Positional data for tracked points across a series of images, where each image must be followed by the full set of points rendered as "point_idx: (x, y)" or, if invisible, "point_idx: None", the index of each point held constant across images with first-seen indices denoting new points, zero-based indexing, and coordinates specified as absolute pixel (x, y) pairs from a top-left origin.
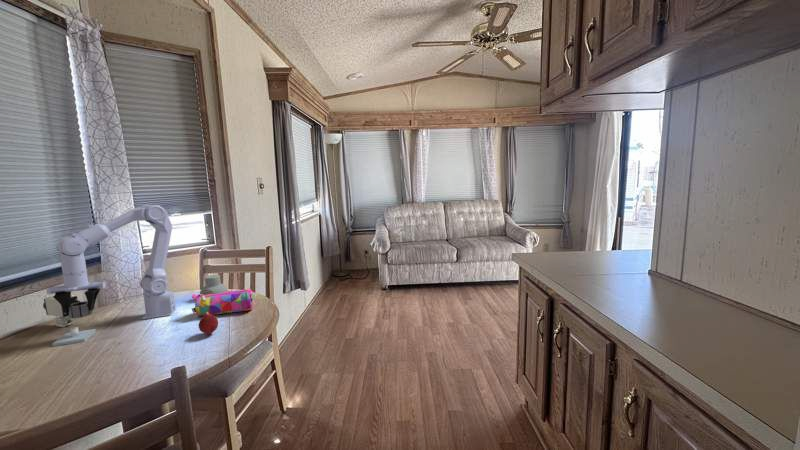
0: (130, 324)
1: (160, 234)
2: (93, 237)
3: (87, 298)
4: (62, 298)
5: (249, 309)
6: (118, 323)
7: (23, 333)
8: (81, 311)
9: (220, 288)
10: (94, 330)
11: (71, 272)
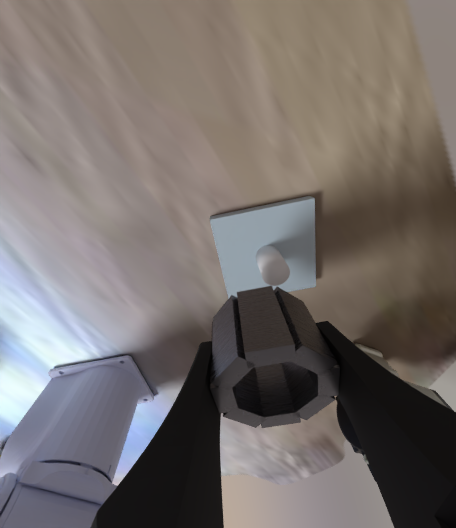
0: (144, 328)
1: None
2: None
3: (190, 437)
4: (423, 443)
5: None
6: (195, 342)
7: (452, 324)
8: (234, 322)
9: None
10: (228, 293)
11: None
